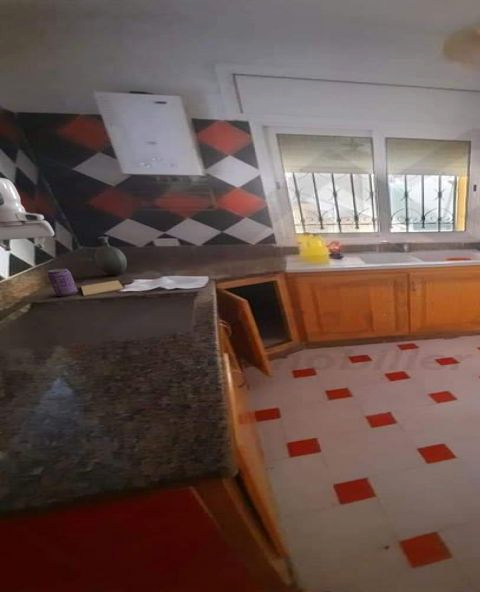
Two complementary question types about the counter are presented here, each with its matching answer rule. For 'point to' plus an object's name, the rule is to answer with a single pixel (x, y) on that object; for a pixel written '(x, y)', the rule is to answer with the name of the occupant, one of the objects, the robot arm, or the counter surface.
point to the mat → (101, 287)
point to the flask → (110, 258)
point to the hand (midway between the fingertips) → (25, 249)
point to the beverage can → (62, 282)
